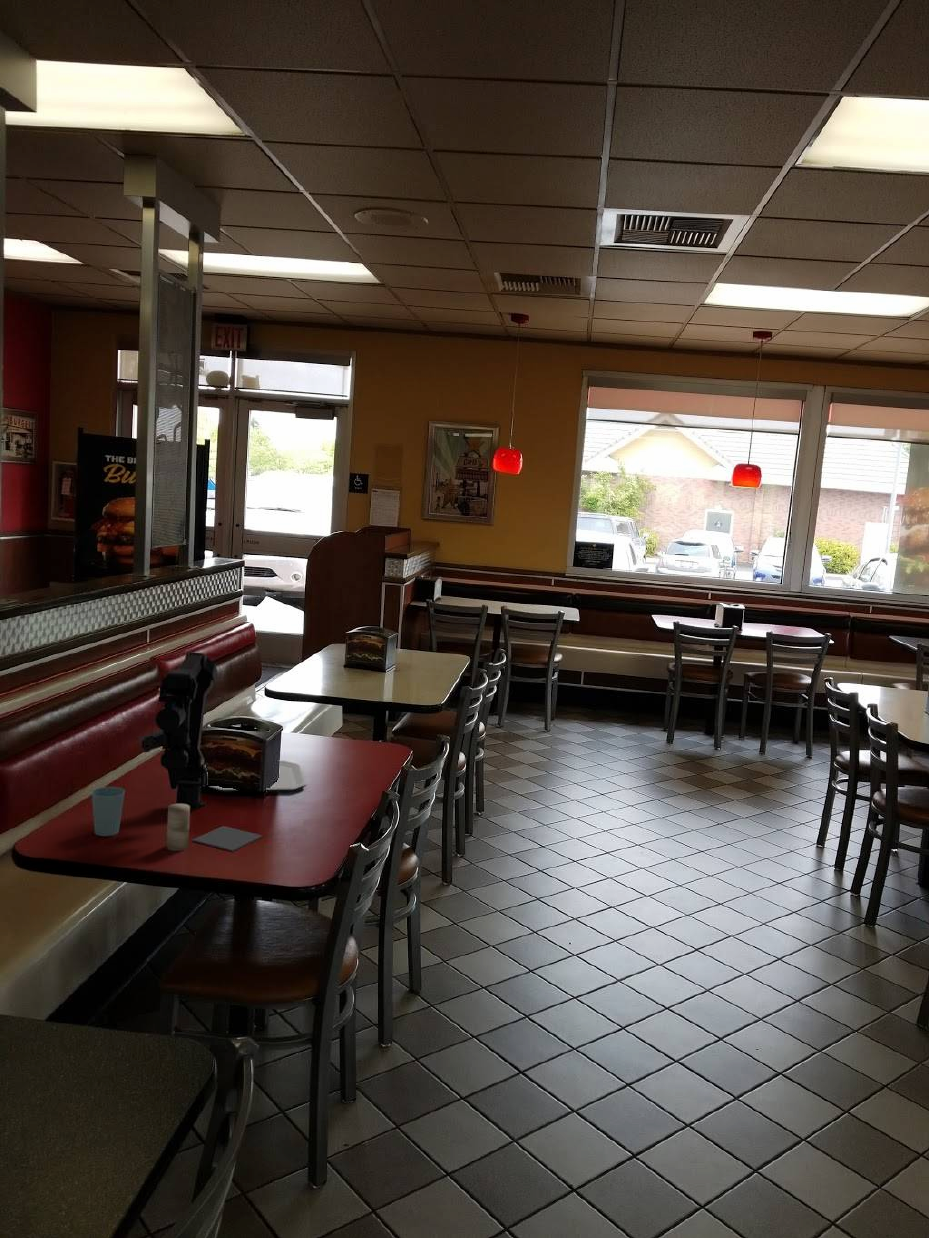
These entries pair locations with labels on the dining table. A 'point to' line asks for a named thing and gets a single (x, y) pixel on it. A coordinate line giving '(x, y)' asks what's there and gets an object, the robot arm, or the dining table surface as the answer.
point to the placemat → (227, 838)
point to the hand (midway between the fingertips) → (174, 783)
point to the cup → (107, 810)
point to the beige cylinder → (178, 827)
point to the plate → (281, 779)
